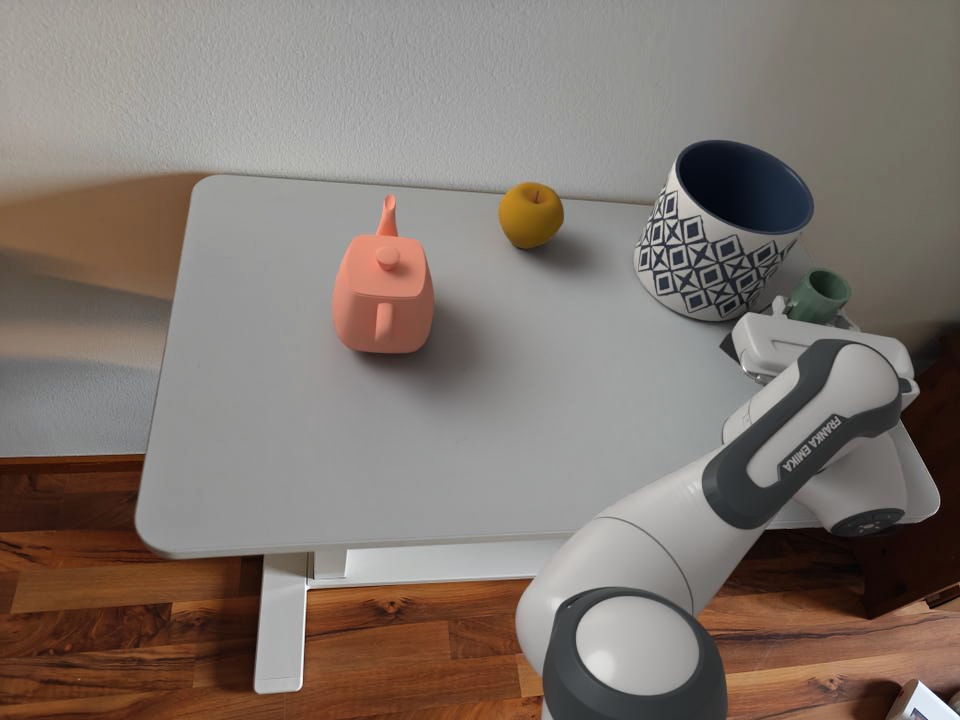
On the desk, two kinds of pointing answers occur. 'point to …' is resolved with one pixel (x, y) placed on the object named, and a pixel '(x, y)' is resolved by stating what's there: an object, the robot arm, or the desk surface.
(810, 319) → the cup
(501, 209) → the apple
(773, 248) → the planter
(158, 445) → the desk surface
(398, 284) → the teapot
